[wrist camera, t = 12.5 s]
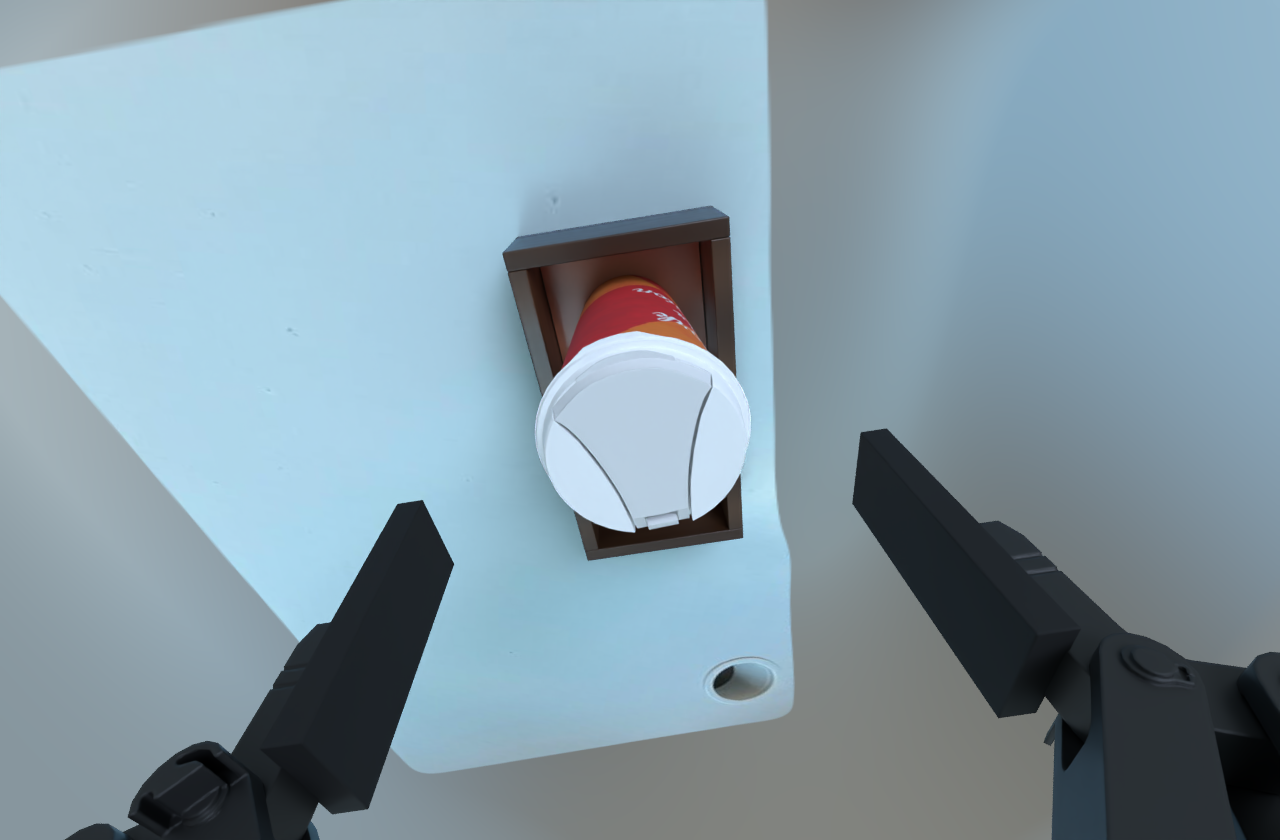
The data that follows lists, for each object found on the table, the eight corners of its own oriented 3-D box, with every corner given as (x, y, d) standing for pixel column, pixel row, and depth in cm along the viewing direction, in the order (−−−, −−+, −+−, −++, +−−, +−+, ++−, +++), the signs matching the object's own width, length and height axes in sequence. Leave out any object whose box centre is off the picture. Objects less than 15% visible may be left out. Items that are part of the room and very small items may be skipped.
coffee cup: (703, 366, 32) (769, 520, 19) (583, 393, 32) (567, 560, 19) (683, 236, 28) (749, 320, 15) (545, 269, 28) (492, 378, 15)
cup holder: (516, 236, 28) (501, 252, 24) (712, 205, 28) (729, 215, 24) (589, 518, 39) (587, 561, 35) (729, 497, 39) (743, 538, 35)
